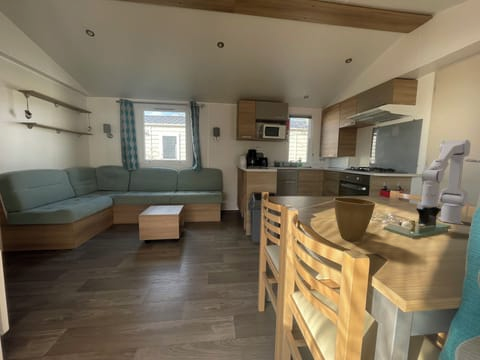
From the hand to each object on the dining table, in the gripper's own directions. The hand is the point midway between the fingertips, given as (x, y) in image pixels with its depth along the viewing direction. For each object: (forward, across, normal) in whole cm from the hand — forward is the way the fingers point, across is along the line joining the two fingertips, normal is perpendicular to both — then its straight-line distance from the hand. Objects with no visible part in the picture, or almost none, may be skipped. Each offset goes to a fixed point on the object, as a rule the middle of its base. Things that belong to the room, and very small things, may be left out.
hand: (427, 222), depth 98 cm
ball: (0, +15, 0) cm, 15 cm away
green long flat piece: (+3, +4, 0) cm, 5 cm away
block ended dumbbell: (+2, +5, 0) cm, 5 cm away
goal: (+3, +18, 0) cm, 18 cm away
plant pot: (+3, +46, -3) cm, 46 cm away
